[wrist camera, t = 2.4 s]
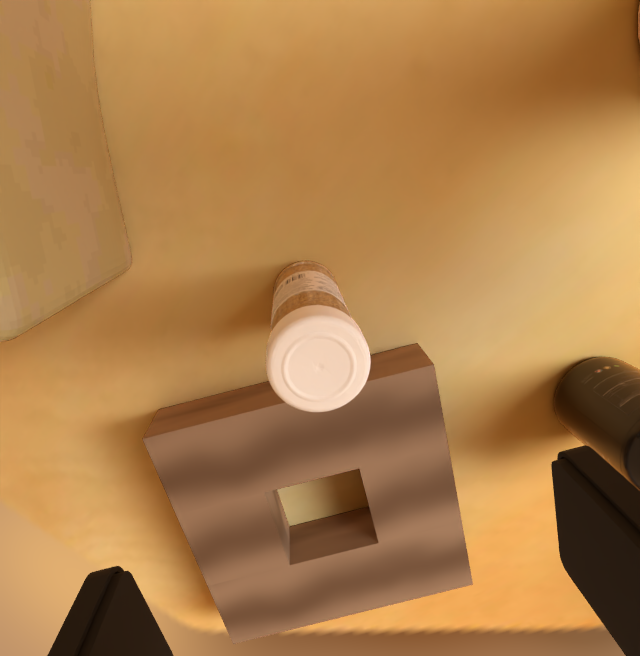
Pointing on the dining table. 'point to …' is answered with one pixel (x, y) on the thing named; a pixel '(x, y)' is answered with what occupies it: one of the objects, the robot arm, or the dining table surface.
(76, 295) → the cheese
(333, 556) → the walnut holder
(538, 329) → the dining table surface
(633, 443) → the supplement bottle
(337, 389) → the sprinkles bottle
